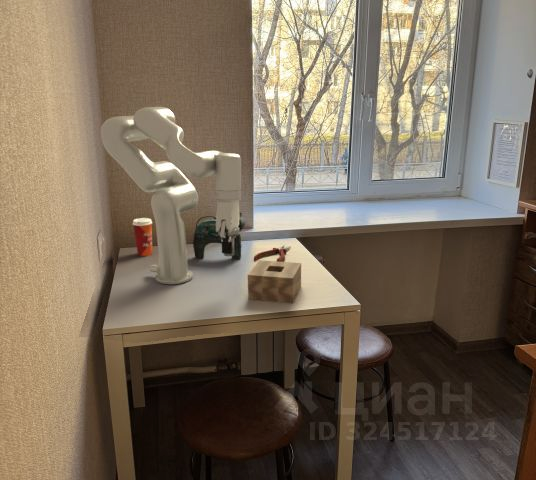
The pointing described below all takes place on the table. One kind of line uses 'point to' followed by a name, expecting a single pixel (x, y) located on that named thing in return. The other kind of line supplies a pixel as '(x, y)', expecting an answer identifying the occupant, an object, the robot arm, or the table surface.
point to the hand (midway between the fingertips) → (229, 250)
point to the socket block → (274, 281)
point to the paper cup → (143, 236)
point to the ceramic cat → (212, 237)
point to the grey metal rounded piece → (232, 238)
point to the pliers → (280, 250)
